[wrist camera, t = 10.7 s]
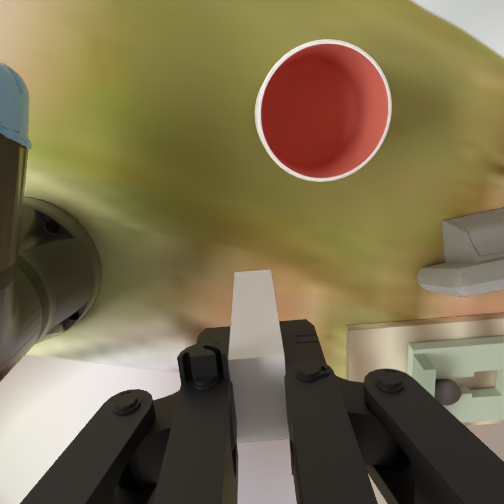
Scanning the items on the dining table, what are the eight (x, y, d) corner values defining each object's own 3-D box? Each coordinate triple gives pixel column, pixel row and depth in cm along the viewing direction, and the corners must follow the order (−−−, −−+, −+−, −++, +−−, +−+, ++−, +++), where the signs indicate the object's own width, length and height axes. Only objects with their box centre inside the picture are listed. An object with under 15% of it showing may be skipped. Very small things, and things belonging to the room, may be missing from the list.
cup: (362, 57, 39) (399, 38, 30) (354, 166, 42) (385, 181, 33) (254, 57, 39) (256, 38, 30) (254, 167, 42) (256, 182, 33)
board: (347, 427, 52) (356, 453, 48) (346, 325, 48) (355, 344, 44) (585, 409, 52) (613, 434, 48) (605, 305, 47) (638, 322, 43)
